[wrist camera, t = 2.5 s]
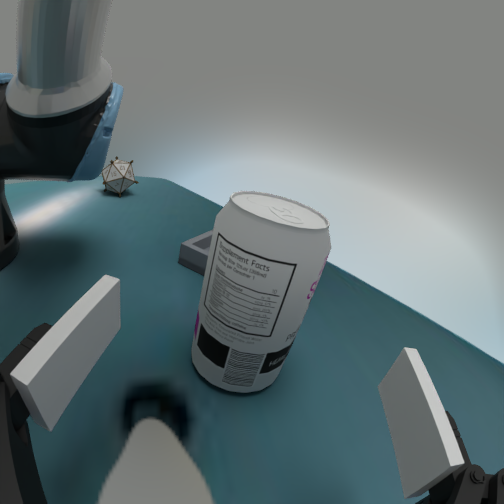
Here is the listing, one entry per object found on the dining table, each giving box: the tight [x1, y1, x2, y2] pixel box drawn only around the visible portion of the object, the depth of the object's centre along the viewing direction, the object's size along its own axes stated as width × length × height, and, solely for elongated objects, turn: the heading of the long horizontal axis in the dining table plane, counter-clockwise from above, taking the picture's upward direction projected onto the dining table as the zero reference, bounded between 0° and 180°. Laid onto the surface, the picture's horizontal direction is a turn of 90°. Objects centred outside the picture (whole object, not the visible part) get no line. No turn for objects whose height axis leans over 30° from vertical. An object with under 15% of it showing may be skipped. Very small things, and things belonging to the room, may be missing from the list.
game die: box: [102, 157, 138, 197], centre depth 58 cm, size 9×8×10 cm
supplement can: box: [191, 191, 331, 393], centre depth 23 cm, size 8×8×15 cm
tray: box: [178, 229, 214, 276], centre depth 44 cm, size 16×16×3 cm
